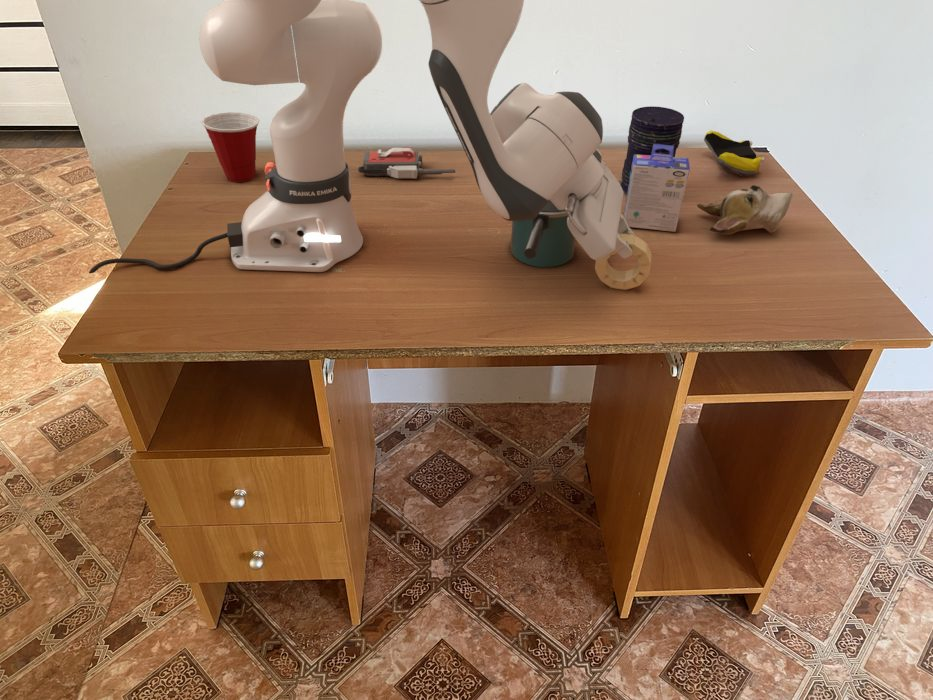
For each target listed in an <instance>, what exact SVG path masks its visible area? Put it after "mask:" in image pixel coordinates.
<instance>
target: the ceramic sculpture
mask: <svg viewBox="0 0 933 700" xmlns="http://www.w3.org/2000/svg"><path fill="white" fill-rule="evenodd" d="M792 198H793V192H776V193H772V194H767V192H766V190H765V189H764V188H762V187H761V186H759V185H755V184H753V185H751V186H750V187H749V188H748V189H745V188H740V189H735V190H732V191H730V192H729V193H728V194H726V196H724V198H723V199H719V200H716V201H715V202H711V203H708V204H702V203H698V204H696V207H697V208H699V209H700V210H702V211H703V212H704V213H707V214H708V215H711V216H712V217H713V216H714V217H720V219H718V220H717V221H716V223H715V224H713V225H712V226H710V227H709V228H708V230H709V231H710V232H712V233H717V234H721V235H725V236H730V235H733V234H735V233H738V232H741V231H748V230H749V231H750V230H756V229H764V230H766V231H767V232H768V233H774V232H776V231H777V230H778V228H779V227H780V224H781V223H780V222H781V221H782V220H783V219H784V217H785V216H786V214H787V212H788V211H789V207H790V204H791V202H792Z"/></svg>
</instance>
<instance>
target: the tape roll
mask: <svg viewBox="0 0 933 700" xmlns="http://www.w3.org/2000/svg"><path fill="white" fill-rule="evenodd" d="M619 235H620V238H621V239H622V240H623V241H625V242H626V241H628V243H629V244H630V245H631V246H632V255H631V256H634V258H636V260H637V262H638V264H637V265H636V266H635V267H634V268H632V269H630V270H626V271H623V270H617V269H616V268H615V267H612V266H611V265H610V262H609V261H608V259H609V258H610V257H611V256H612V255H615V254H618V252H616V251H613V252H612V253H610V254H609V255H607V256H606V257H604V258H603V259H601V260H599V261H596V260H595V265H594V271H595V273H596V275H597V277H598V279H599V281H600V282H601V283H603V284H605V285H606V286H608V287H609V288H610V289H617V290H624V291H625V290H626V291H627V290H630V289H633V288H637V287H639V286H640V285H642V284H643V282H644V281H646V279H648V278H649V275H650V271H651V265H652V256H653V255H652V252H651V250H650V248H649V246H648V243H647V242H646V241H645V240H643V239H641V238H640V237H638V236H637V235H635V234H634V235H630V234H622V233H621V234H619Z"/></svg>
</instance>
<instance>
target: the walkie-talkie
mask: <svg viewBox="0 0 933 700" xmlns="http://www.w3.org/2000/svg"><path fill="white" fill-rule="evenodd" d="M362 161H363V166H359V167H358V168H357V170H358V172H359V173H361V174H364V175H365V176H367V177H391V178H395V179H414V180H415V179H418V176H425V175H442V174H455V173H456V169H454V168H441V169H440V168H431V169H429V168H428V169H427V168H425V169H423V168H421V167H420V166H422V165H423V155H422V154H420V155H419V151H417V150H414V149H413V148H412V147H407V146H406V147H392V148H390V149H388V150H387V151H382V149H378V150H377V151H364V153H363V160H362Z"/></svg>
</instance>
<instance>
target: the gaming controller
mask: <svg viewBox="0 0 933 700" xmlns="http://www.w3.org/2000/svg"><path fill="white" fill-rule="evenodd" d="M703 141H704V143H705V145H706V146H707V148H708V149H709V150H710V151H711V153H712V154H713V155H714V157H715V158H716V160H717V163H718V165H719V166H720V168H721V169H722V170H723V171H725V172H726V173H728V174H735V175H738V176H740V177H744V178H748V177H750V176H751V175H756V174H758V173H759V170H760V166H761V164H762V162H763V161H764V160H765V157H764V156H757V154H756V152H755V151H754V149H753V148H752V146H753V141H752V140H750V139H749V140H745V139H744V140H740V141H736V140H734V139H731V138H730V137H727V136H726V135H724V134H722V133H721V132H719V131H715V130H709V131H707V132H706V133H705V136H704V138H703Z"/></svg>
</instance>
